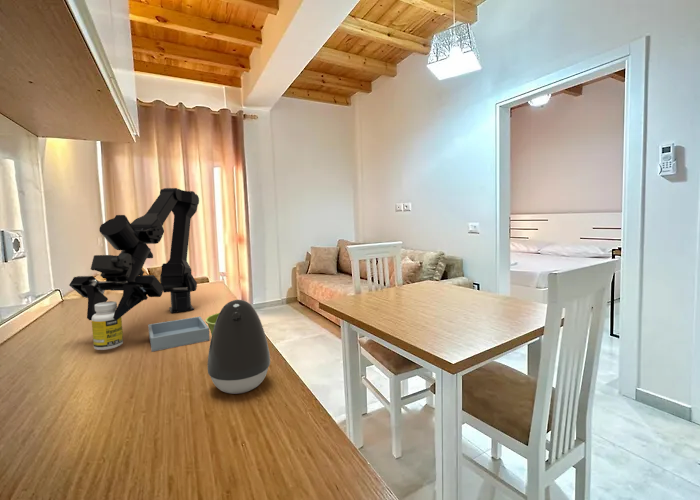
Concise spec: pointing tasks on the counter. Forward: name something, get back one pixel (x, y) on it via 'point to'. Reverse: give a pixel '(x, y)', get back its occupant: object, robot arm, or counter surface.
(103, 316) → the supplement bottle
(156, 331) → the tray
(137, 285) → the robot arm
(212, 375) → the dark grey egg-shaped device
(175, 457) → the counter surface
